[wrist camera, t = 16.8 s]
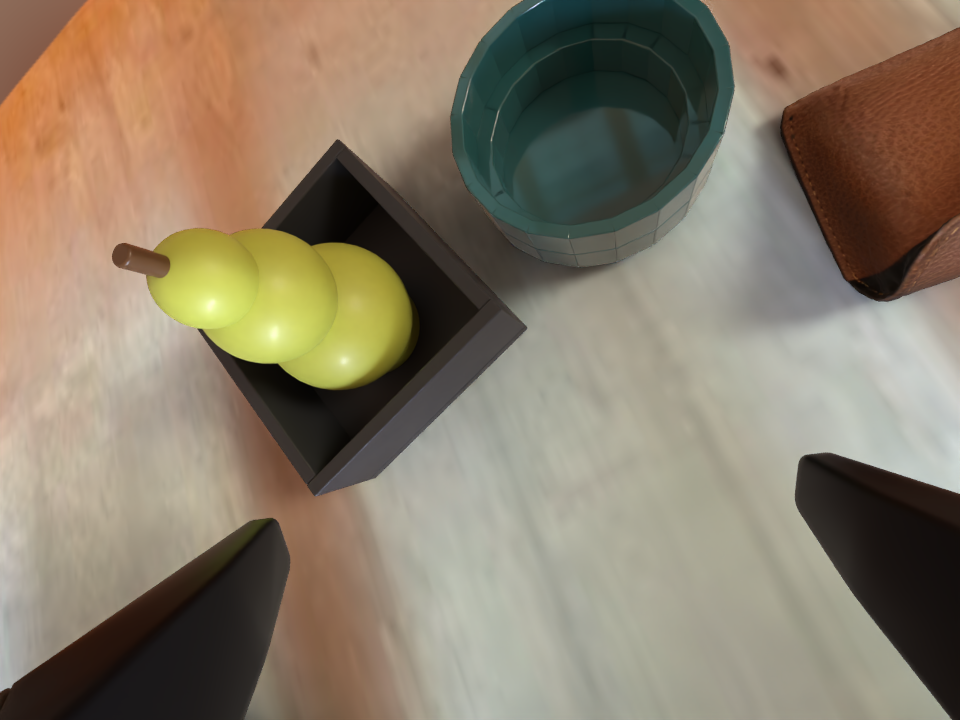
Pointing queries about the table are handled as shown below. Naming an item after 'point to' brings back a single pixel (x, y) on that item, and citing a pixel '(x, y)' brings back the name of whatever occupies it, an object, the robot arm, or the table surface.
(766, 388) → the table surface
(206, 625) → the robot arm
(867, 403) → the table surface
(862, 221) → the sunglasses case
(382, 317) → the pear
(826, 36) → the table surface
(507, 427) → the table surface
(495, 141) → the bowl
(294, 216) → the bin
